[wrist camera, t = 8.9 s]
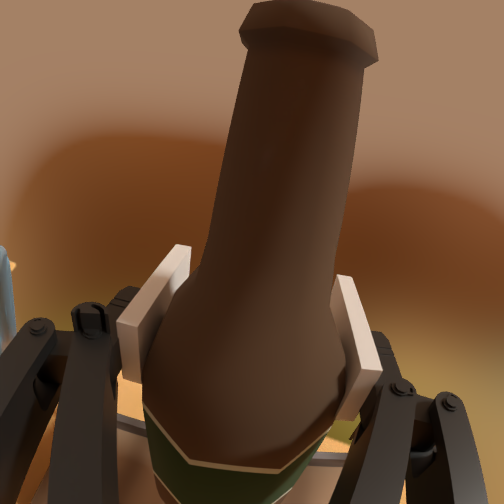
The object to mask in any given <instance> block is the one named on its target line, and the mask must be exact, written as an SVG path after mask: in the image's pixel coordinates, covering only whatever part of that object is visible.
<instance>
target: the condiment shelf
mask: <svg viewBox="0 0 504 504" xmlns="http://www.w3.org/2000/svg"><path fill="white" fill-rule="evenodd" d="M347 454H348V453H333V452H316V453H315V454H314V456H313V457H312V459H311V461H310V462H309V464H308V465H307V467H306V468H305V470H304V471H303V473H302V474H301V476H300V477H299V479H298V480H297V482H296V483H295V484H294V486H293V487H292V489H291V490H290V492H289V493H288V494H287V496H286V497H285V498H284V500H283V501H282V503H281V504H328V503H329V501H330V499H331V496H332V494H333V491H334V489H335V486H336V484H337V481H338V479H339V476H340V474H341V471H342V468H343V466H344V463H345V460H346V457H347ZM117 469H118V490H119V504H165V503H164V501H163V500H162V499H161V498H160V495H159V493H158V490H157V488H156V483H155V478H154V473H153V468H152V462H151V457H150V451H149V445H148V439H147V432H146V426H145V422H144V421H140V420H137V419H134V418H131V417H127V416H124V415H121V414H118V413H117ZM49 470H50V466H49V468H48V470H47V472H46V474H45V475H44V477H43V479H42V481H41V483H40V485H39V487H38V489H37V491H36V493H35V495H34V497H33V499H32V501H31V503H30V504H47V499H48V482H49Z"/></svg>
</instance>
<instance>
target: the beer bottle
mask: <svg viewBox="0 0 504 504" xmlns="http://www.w3.org/2000/svg"><path fill="white" fill-rule="evenodd" d="M239 34H240V37H241V41H242V43H243V45H244V46H245V47H246V48H247V49H248V52H247V56H246V60H245V64H244V69H243V73H242V77H241V81H240V85H239V89H238V94H237V99H236V103H235V108H234V112H233V116H232V120H231V125H230V130H229V134H228V139H227V144H226V148H225V153H224V158H223V163H222V168H221V172H220V178H219V183H218V187H217V193H216V198H215V203H214V208H213V214H212V219H211V225H210V230H209V235H208V239H207V243H206V246H205V249H204V253H203V256H202V259H201V263H200V265H199V266H198V267H197V268H196V270H195V271H194V272H193V273H192V274H191V275H190V276H189V277H188V278H187V279H186V280H185V281H184V282H183V283H182V284H181V286H180V287H179V288H178V289H177V290H176V291H175V293H174V295H173V298H172V300H171V302H170V304H169V307H168V309H167V311H166V313H165V316H164V318H163V320H162V323H161V325H160V327H159V330H158V332H157V334H156V337H155V339H154V342H153V344H152V346H151V349H150V351H149V354H148V356H147V358H146V361H145V363H144V366H143V378H142V403H143V411H144V418H145V426H146V432H147V439H148V445H149V451H150V457H151V462H152V468H153V473H154V478H155V483H156V488H157V490H158V493H159V495H160V498H161V499H162V500H163V501H164V503H165V504H281V503H282V501H283V500H284V498H285V497H286V496H287V494H288V493H289V492H290V490H291V489H292V487H293V486H294V484H295V483H296V482H297V480H298V479H299V477H300V476H301V474H302V473H303V471H304V470H305V468H306V467H307V465H308V464H309V462H310V461H311V459H312V457H313V456H314V454H315V453H316V451H317V450H318V448H319V446H320V445H321V443H322V441H323V440H324V438H325V436H326V435H327V433H328V431H329V430H330V428H331V426H332V424H333V422H334V420H335V419H334V416H335V414H336V412H337V410H338V408H339V405H340V403H341V401H342V399H343V397H344V394H345V383H346V357H345V353H344V350H343V347H342V343H341V340H340V337H339V334H338V330H337V327H336V324H335V321H334V317H333V314H332V311H331V308H330V300H331V290H332V281H333V271H334V261H335V254H336V249H337V244H338V240H339V235H340V229H341V225H342V219H343V214H344V208H345V203H346V197H347V192H348V185H349V180H350V174H351V168H352V162H353V155H354V148H355V141H356V134H357V127H358V119H359V111H360V103H361V94H362V84H363V75H364V68H366V67H368V66H370V65H372V64H373V63H375V62H377V61H378V54H377V48H376V42H375V36H374V31H373V30H372V29H371V28H370V27H369V26H368V25H367V24H365V23H364V22H363V21H362V20H360V19H359V18H358V17H357V16H355V15H354V14H353V13H351V12H350V11H349V10H346V9H344V8H341V7H338V6H333V5H330V4H326V3H321V2H317V1H312V0H272V1H266V2H260V3H254V4H253V6H252V7H251V9H250V11H249V13H248V14H247V16H246V18H245V20H244V22H243V24H242V25H241V27H240V29H239Z"/></svg>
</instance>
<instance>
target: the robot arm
mask: <svg viewBox="0 0 504 504" xmlns="http://www.w3.org/2000/svg"><path fill="white" fill-rule="evenodd" d="M190 256H191V247H188V246H183V245H178V244H176V245H175V247H174V248H173V249H172V250H171V251H170V253H169V254H168V255H167V256H166V258H165V259H164V260H163V261H162V263H161V264H160V265H159V266H158V268H157V269H156V270H155V271H154V273H153V274H152V275H151V277H150V278H149V279H148V280H147V282H146V283H145V284H144V285H143V287H142V288H141V289H140V288H136V287H132V286H128V287H126V288H124V289H123V290H121V291H119V292H118V293H117V295H116V296H115V297H114V299H112V300H111V302H110V303H109V304H108V305H107V306H106V307H105V306H104V305H102V304H100V303H96V302H85V303H82V304H79V305H77V306H76V307H74V308H73V310H72V311H71V316H72V322H73V327H74V331H59V330H55V326H54V323H53V322H52V321H51V320H49V319H47V318H34V319H32V320H30V321H28V322H27V323H25V324H24V326H23V327H22V328H21V329H20V331H19V332H18V333H16V322H15V310H14V298H13V287H12V277H11V269H10V263H9V259H8V257H7V251H6V250H5V248H4V247H3V246H1V245H0V504H15V503H16V500H17V498H18V495H19V492H20V489H21V487H22V484H23V482H24V479H25V476H26V474H27V471H28V469H29V467H30V464H31V462H32V459H33V457H34V454H35V452H36V450H37V447H38V445H39V443H40V441H41V438H42V436H43V434H44V432H45V429H46V427H47V425H48V423H49V421H50V419H51V416H52V414H53V412H54V410H55V408H56V406H57V404H58V409H57V415H56V421H55V428H54V435H53V442H52V450H51V459H50V470H49V482H48V499H47V504H119V490H118V469H117V397H118V382H117V376H118V374H119V372H120V371H121V369H122V375H123V379H126V380H129V381H132V382H136V383H139V384H142V378H143V366H144V363H145V361H146V358H147V356H148V354H149V351H150V349H151V346H152V344H153V342H154V339H155V337H156V334H157V332H158V330H159V327H160V325H161V323H162V320H163V318H164V316H165V313H166V311H167V309H168V307H169V304H170V302H171V300H172V298H173V295H174V293H175V291H176V290H177V289H178V288H179V287H180V286H181V284H182V283H183V282H184V281H185V280H186V279H187V278H188V277H189V268H190ZM330 308H331V311H332V314H333V317H334V321H335V324H336V327H337V330H338V334H339V337H340V340H341V343H342V347H343V350H344V353H345V357H346V383H345V394H344V397H343V399H342V401H341V403H340V405H339V408H338V410H337V412H336V414H335V416H334V419H335V420H342V421H354V420H355V418H356V416H357V415H358V413H359V412H360V418H361V422H360V423H359V425H358V426H357V428H356V429H355V431H354V432H353V434H352V435H351V437H350V438H349V440H352V439H353V440H352V443H351V446H350V449H349V452H348V454H347V457H346V460H345V463H344V466H343V468H342V471H341V474H340V476H339V479H338V481H337V484H336V486H335V489H334V491H333V494H332V496H331V499H330V501H329V503H328V504H399V503H400V499H401V495H402V490H403V485H404V480H405V483H406V503H407V504H488V499H487V493H486V489H485V483H484V478H483V474H482V469H481V465H480V461H479V456H478V452H477V448H476V445H475V441H474V437H473V434H472V430H471V426H470V423H469V420H468V417H467V413H466V410H465V407H464V404H463V402H462V400H461V399H460V398H459V397H458V396H456V395H454V394H453V393H450V392H441V393H439V394H438V395H437V396H436V397H435V399H430V398H427V397H423V396H420V395H418V394H416V389H415V388H414V386H413V385H412V384H411V383H410V382H409V381H408V380H405V379H403V378H402V376H401V373H400V370H399V367H398V365H397V362H396V359H395V357H394V353H393V351H392V350H391V345H390V343H389V340H388V339H387V338H386V337H385V336H384V334H383V333H382V332H376V331H370V328H369V325H368V322H367V319H366V316H365V313H364V310H363V307H362V304H361V302H360V299H359V296H358V293H357V291H356V287H355V285H354V282H353V279H352V277H348V276H343V275H337V277H336V280H335V283H334V286H333V290H332V293H331V300H330ZM58 402H59V403H58Z"/></svg>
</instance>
